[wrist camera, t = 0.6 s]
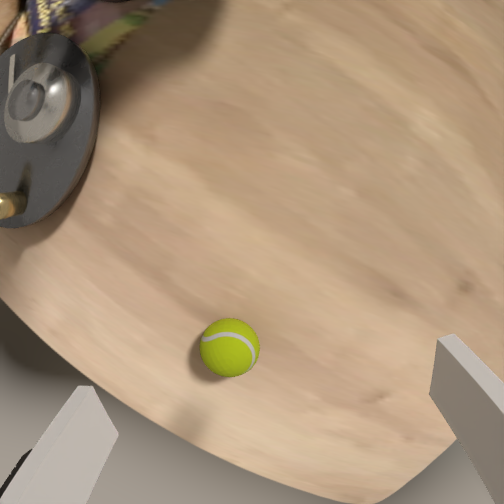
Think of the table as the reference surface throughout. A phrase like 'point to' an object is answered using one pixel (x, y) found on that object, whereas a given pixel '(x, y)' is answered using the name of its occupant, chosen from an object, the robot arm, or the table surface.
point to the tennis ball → (229, 347)
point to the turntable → (45, 155)
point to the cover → (42, 104)
